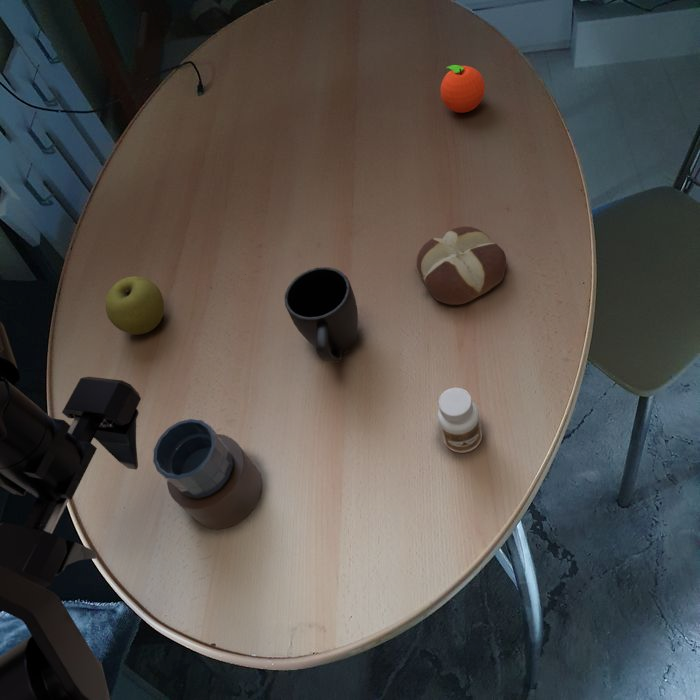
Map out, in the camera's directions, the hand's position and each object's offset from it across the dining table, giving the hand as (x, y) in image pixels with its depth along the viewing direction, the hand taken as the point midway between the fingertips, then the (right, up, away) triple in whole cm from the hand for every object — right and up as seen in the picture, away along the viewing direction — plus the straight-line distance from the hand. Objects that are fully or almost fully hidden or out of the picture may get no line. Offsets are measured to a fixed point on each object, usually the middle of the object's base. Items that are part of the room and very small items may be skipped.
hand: (113, 510), depth 66 cm
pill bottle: (+36, +6, +10) cm, 38 cm away
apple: (-6, +20, +32) cm, 38 cm away
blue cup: (+7, +2, +8) cm, 11 cm away
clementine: (+42, +55, +43) cm, 82 cm away
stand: (+9, -1, +13) cm, 15 cm away
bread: (+38, +26, +23) cm, 52 cm away
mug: (+22, +16, +21) cm, 34 cm away
